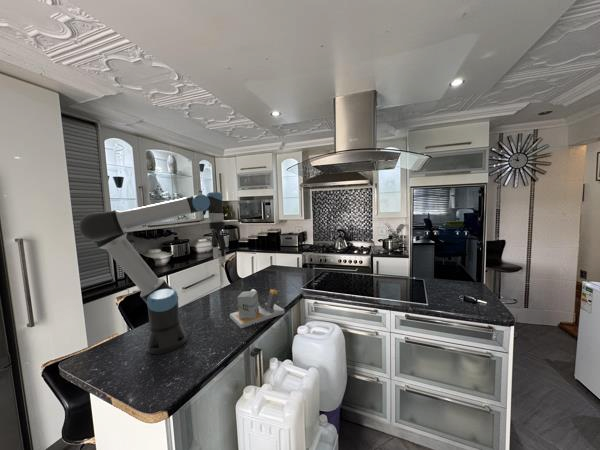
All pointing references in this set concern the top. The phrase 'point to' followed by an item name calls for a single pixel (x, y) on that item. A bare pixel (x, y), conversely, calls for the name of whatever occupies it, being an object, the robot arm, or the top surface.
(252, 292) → the ink box
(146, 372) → the top surface
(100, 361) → the top surface
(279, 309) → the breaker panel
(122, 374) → the top surface
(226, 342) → the top surface
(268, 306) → the tagged breaker
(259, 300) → the plain breaker
